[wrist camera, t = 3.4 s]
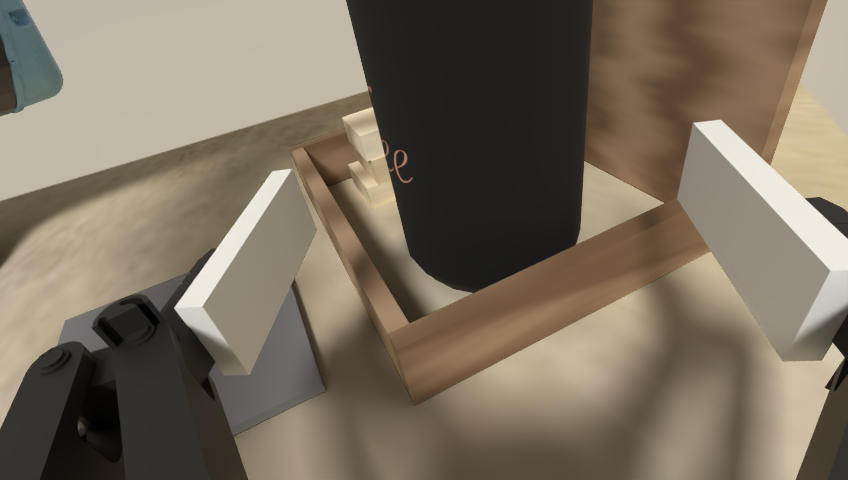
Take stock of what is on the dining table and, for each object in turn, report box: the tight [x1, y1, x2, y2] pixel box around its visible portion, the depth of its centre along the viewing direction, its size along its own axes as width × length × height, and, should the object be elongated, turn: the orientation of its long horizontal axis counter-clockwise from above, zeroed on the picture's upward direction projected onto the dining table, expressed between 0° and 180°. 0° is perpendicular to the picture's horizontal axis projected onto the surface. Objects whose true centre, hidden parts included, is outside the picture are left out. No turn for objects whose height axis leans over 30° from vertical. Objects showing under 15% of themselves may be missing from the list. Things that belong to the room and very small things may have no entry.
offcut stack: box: [342, 107, 396, 209], centre depth 36 cm, size 5×13×6 cm, turn 115°
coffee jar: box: [346, 0, 593, 293], centre depth 23 cm, size 11×11×18 cm
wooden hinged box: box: [289, 0, 827, 405], centre depth 27 cm, size 24×21×16 cm
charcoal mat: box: [57, 272, 326, 436], centre depth 25 cm, size 14×14×1 cm
